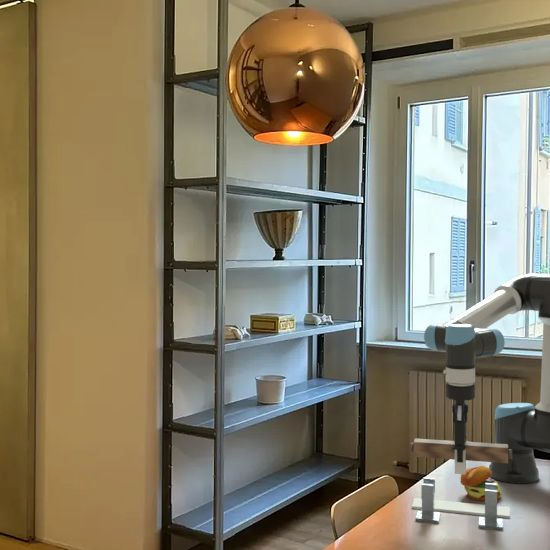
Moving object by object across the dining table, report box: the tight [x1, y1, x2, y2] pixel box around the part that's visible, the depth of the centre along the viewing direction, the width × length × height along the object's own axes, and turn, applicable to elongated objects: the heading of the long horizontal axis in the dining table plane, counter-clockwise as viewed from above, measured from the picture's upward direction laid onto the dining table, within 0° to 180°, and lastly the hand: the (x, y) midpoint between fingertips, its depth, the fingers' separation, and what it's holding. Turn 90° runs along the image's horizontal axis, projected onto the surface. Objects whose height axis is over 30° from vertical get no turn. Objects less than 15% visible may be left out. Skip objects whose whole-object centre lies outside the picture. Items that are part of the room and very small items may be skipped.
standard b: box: [478, 483, 504, 531], centre depth 189 cm, size 6×6×10 cm
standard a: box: [415, 476, 441, 524], centre depth 194 cm, size 6×6×10 cm
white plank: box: [411, 497, 511, 519], centre depth 201 cm, size 26×7×1 cm, turn 73°
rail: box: [409, 438, 512, 463], centre depth 192 cm, size 26×4×4 cm, turn 73°
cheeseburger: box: [460, 465, 503, 502], centre depth 211 cm, size 10×11×10 cm
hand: (460, 470), depth 192 cm, fingers closed on rail, 3 cm apart
